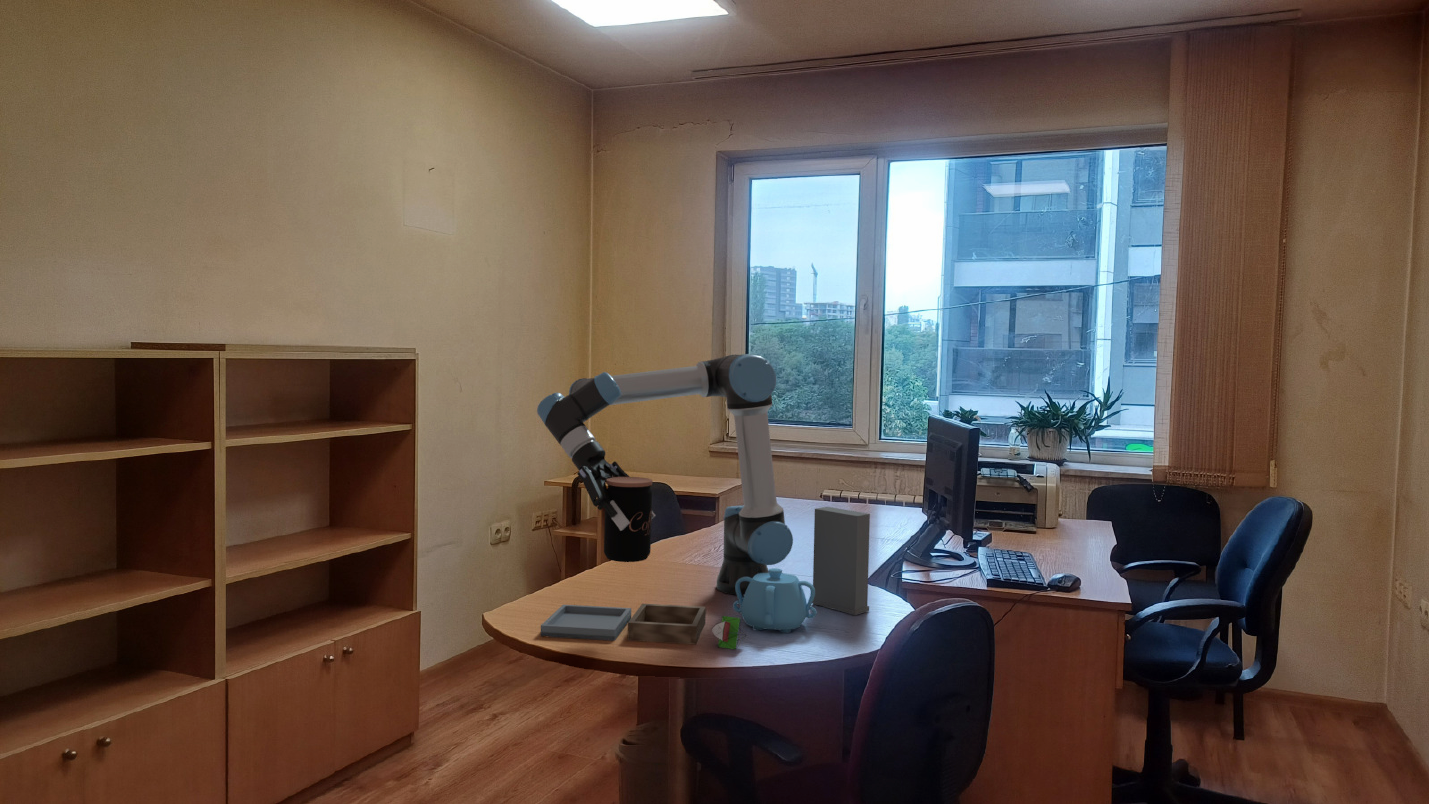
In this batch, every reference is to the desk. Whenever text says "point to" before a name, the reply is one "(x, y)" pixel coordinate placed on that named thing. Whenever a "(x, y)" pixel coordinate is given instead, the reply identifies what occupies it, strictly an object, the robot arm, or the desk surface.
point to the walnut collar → (667, 623)
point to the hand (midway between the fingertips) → (638, 523)
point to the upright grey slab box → (841, 559)
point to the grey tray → (586, 622)
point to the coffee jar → (629, 519)
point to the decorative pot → (774, 601)
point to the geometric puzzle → (727, 632)
